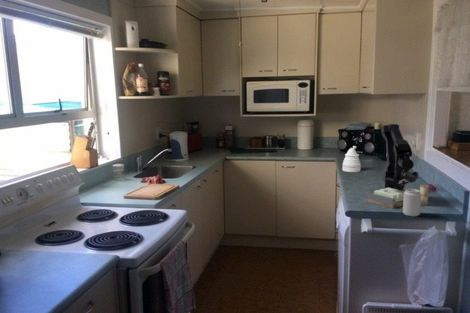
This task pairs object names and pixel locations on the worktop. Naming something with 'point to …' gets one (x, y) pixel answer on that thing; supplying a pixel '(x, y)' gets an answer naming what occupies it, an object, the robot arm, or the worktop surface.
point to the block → (391, 193)
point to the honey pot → (351, 161)
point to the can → (412, 202)
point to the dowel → (424, 194)
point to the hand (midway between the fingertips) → (399, 194)
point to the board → (383, 200)
